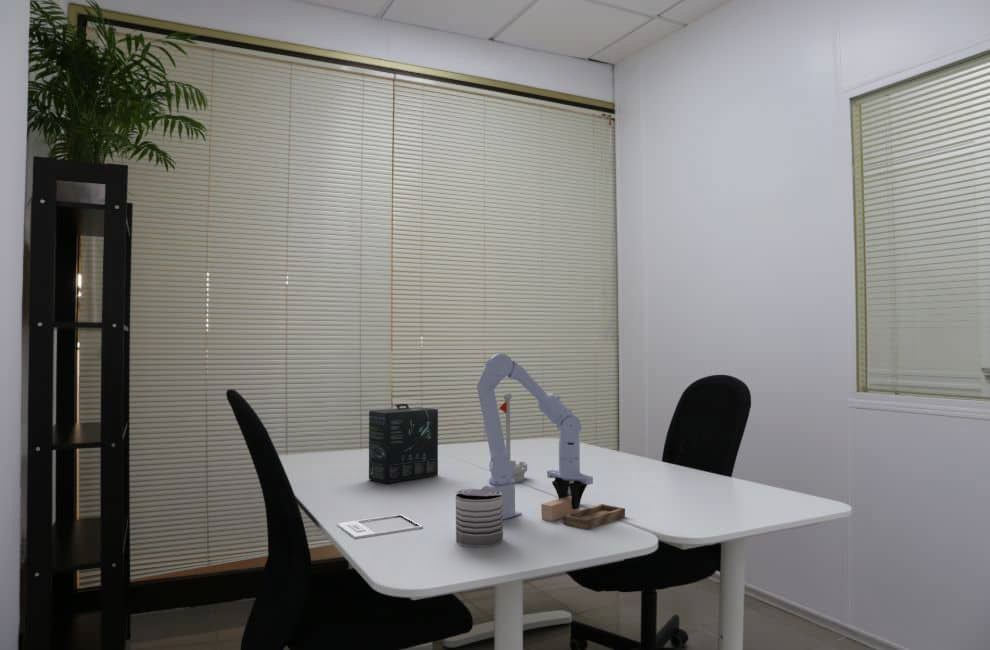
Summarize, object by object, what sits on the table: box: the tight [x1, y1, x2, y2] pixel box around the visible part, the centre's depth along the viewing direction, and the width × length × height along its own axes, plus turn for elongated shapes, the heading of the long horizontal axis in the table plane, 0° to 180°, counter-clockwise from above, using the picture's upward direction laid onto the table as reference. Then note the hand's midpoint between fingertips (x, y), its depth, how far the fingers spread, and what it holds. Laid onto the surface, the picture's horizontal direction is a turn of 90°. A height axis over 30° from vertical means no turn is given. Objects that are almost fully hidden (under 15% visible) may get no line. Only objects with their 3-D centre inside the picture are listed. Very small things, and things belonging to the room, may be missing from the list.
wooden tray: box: [562, 503, 626, 530], centre depth 180 cm, size 17×8×2 cm, turn 135°
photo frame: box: [336, 513, 424, 539], centre depth 176 cm, size 15×1×18 cm
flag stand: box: [489, 391, 528, 483], centre depth 236 cm, size 13×13×30 cm
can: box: [454, 488, 504, 549], centre depth 163 cm, size 11×11×12 cm
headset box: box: [368, 403, 439, 484], centre depth 241 cm, size 22×12×26 cm, turn 133°
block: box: [540, 496, 580, 522], centre depth 185 cm, size 12×4×4 cm, turn 136°
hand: (569, 507), depth 188 cm, fingers closed on block, 4 cm apart
